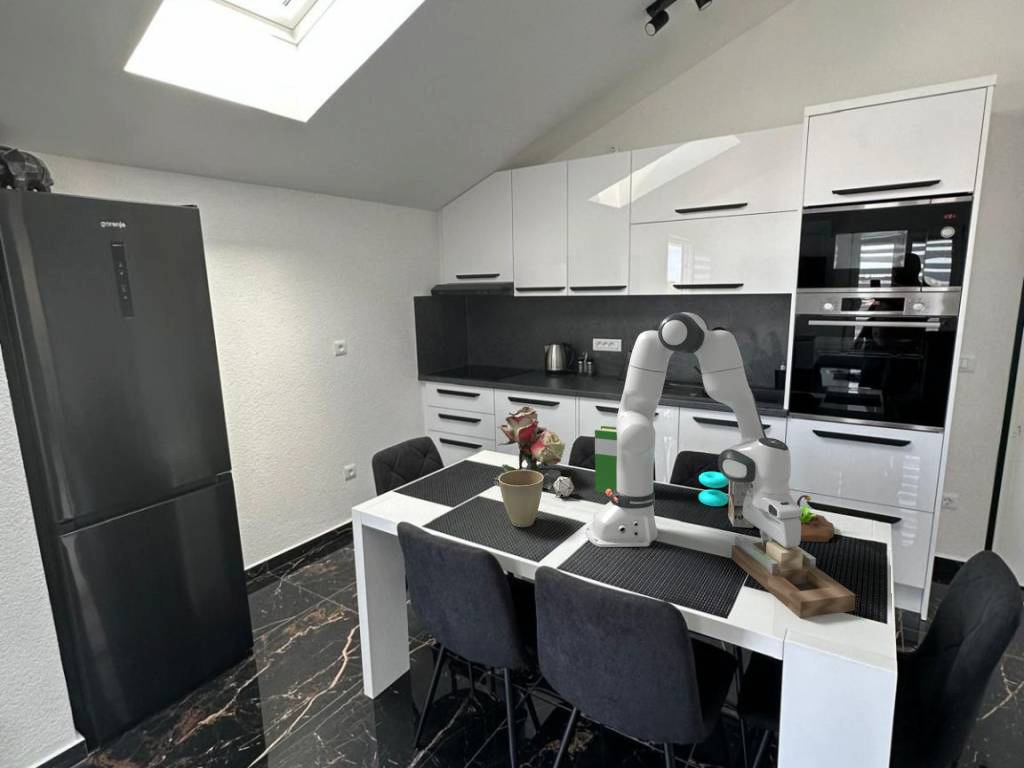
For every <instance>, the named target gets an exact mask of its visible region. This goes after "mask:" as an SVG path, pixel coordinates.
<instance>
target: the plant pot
mask: <svg viewBox="0 0 1024 768" xmlns="http://www.w3.org/2000/svg"><path fill="white" fill-rule="evenodd" d="M503 473H504V474H502V475H500V476H499V478H498V480H499V485H500V486H499V489H500V493H501V497H502V501H503V505H504V508H505V510H506V512H507V513H506V514H507V516H508V518H509V520H510V522H511V521H512V522H513V523H512V522H511V524H512V525H513V527H517V528H526V527H530V526H532V525H534V522H535V520H536V517H537V514H538V511H539V507H540V503H541V499H542V494H543V489H542V487H543V478H544V477H543V475H542V474H541V473H539V472H536V471H530V470H515V471H510V472H503ZM514 523H516V524H514ZM517 524H527V525H517Z"/></svg>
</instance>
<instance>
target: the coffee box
mask: <svg viewBox="0 0 1024 768" xmlns="http://www.w3.org/2000/svg"><path fill="white" fill-rule="evenodd" d="M750 488H753V484H752V483H750V482H749V483H744V482H734V481H730V480H729V483H728V499H729V500H728V503H727V504H728V506H727V509H728V511H727V512H728V513H727V516H728V519H729V521H730V523H731V525H732V527H733V528H734V527H735V528H747V529H748V528H749V529H752V528H754V527H755V526H754V525H753V524H752V523H750V522H749V521H747V520H746V519H745V518H744V516H743V504H744V499H745V497H746V496H747V490H749V489H750Z"/></svg>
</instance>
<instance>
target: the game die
mask: <svg viewBox="0 0 1024 768" xmlns="http://www.w3.org/2000/svg"><path fill="white" fill-rule="evenodd" d="M550 485H553V487H552V488H553V489H554V491H555V497H556V498H557V497H558V496H559V497H565V498H567V500H569V496H570V495H571V494H572V493H573V491H574V490H577V488H576V487H575V486H574V484H573V482H572V476H570V477H566V476H560V475H559V478H558V479H557V480H556V481H554V482H553V484H550ZM561 495H563V496H561ZM566 496H567V497H566Z"/></svg>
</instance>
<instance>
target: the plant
mask: <svg viewBox="0 0 1024 768" xmlns="http://www.w3.org/2000/svg"><path fill="white" fill-rule="evenodd" d="M803 498H804V499H805V501H807V502H810V501H811V497H810V496H809V495H807V494H804V495H803V494H802V495H801V496H799V497H798V499H797V500H796V504H797V505H798V506H799V507H800V508H801V509H802V516H801V517H798V518H799V519H800V522H801V539H800V542H803V543H804V542H805V543H807V542H808V543H812V542H813V543H827V542H828V541H829V540H830V539H833V538H834V535H835V527H834V524H833V523H832V522H831V521H829V520H827V519H826V518H825V516H823V515H821V514H817V513H814V512H811V509H809V508H808V506H803V507H801V502H802V499H803Z"/></svg>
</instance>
